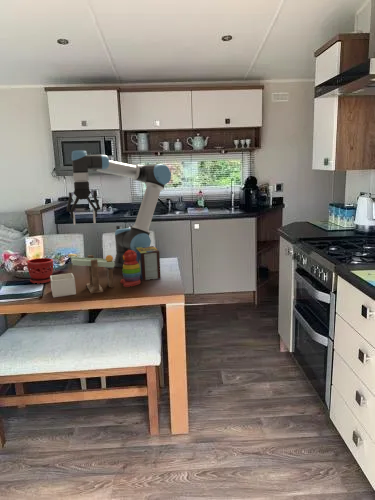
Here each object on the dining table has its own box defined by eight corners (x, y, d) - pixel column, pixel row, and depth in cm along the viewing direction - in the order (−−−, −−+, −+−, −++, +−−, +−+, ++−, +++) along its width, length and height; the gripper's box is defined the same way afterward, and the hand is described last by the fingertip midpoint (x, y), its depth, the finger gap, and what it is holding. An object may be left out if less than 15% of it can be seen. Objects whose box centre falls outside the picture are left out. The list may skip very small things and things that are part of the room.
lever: (107, 261, 206) (107, 255, 205) (114, 269, 189) (114, 262, 189) (67, 259, 198) (67, 252, 197) (71, 267, 181) (71, 260, 180)
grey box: (73, 288, 193) (72, 273, 191) (76, 294, 183) (74, 278, 181) (51, 291, 189) (50, 275, 187) (52, 297, 179) (51, 281, 178)
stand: (109, 282, 202) (107, 252, 198) (115, 290, 188) (113, 258, 185) (86, 285, 197) (84, 255, 194) (90, 293, 184) (88, 261, 180)
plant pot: (47, 285, 199) (44, 263, 196) (24, 284, 201) (21, 262, 199) (59, 278, 211) (57, 257, 209) (37, 277, 214) (35, 257, 211)
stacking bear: (119, 282, 201) (117, 249, 198) (137, 279, 205) (136, 247, 202) (124, 287, 192) (122, 253, 188) (143, 284, 196) (142, 251, 192)
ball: (110, 261, 194) (113, 255, 194) (112, 263, 191) (114, 256, 191) (104, 260, 192) (106, 253, 192) (105, 261, 189) (107, 254, 189)
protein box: (154, 271, 220) (153, 245, 217) (160, 278, 205) (159, 251, 202) (136, 273, 217) (135, 247, 214) (141, 281, 202) (140, 252, 199)
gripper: (101, 180, 204) (104, 221, 209) (58, 181, 196) (62, 224, 201) (104, 180, 197) (107, 223, 202) (59, 182, 189) (63, 226, 194)
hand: (84, 223), depth 201 cm, fingers open, 10 cm apart
